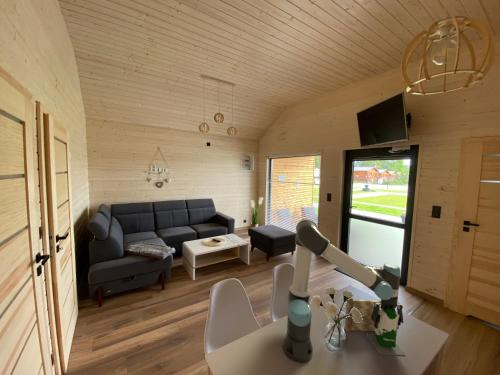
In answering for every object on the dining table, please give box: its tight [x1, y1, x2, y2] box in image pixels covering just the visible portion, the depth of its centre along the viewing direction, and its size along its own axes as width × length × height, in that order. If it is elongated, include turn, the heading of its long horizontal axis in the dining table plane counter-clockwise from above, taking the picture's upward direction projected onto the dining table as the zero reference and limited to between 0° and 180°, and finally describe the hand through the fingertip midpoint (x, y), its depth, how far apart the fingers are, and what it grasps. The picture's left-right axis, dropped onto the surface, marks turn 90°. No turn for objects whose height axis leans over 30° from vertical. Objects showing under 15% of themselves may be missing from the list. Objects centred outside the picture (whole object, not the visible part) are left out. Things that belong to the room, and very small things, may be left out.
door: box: [351, 299, 381, 332], centre depth 123 cm, size 18×3×18 cm, turn 90°
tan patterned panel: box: [344, 296, 354, 333], centre depth 124 cm, size 24×4×20 cm, turn 90°
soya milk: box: [374, 306, 399, 347], centre depth 114 cm, size 9×9×20 cm
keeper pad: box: [366, 333, 406, 357], centre depth 115 cm, size 13×13×1 cm
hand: (385, 333), depth 115 cm, fingers closed on soya milk, 8 cm apart
